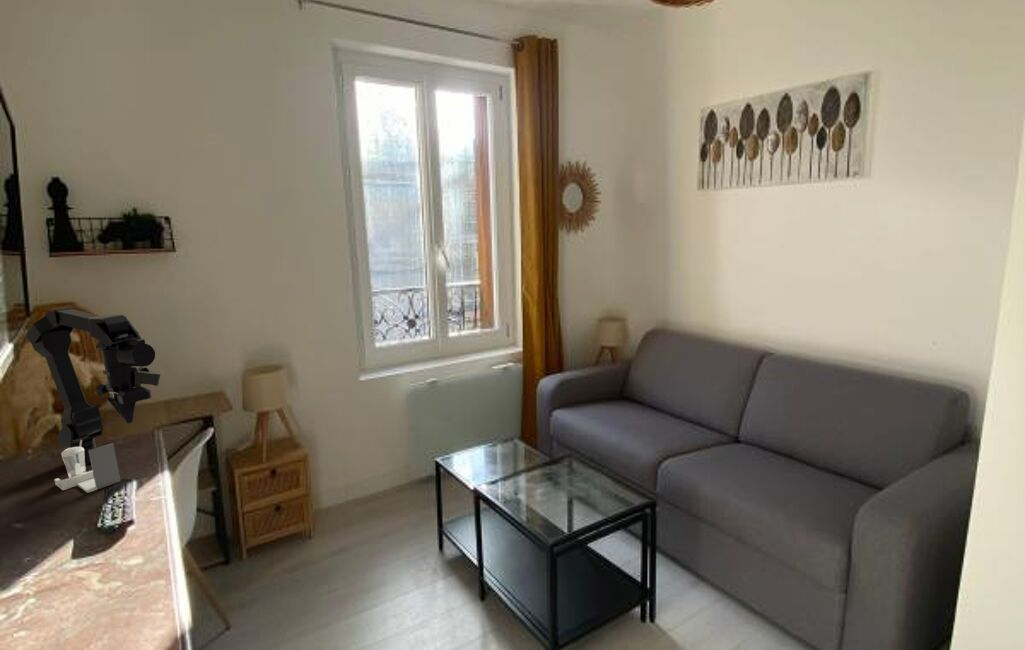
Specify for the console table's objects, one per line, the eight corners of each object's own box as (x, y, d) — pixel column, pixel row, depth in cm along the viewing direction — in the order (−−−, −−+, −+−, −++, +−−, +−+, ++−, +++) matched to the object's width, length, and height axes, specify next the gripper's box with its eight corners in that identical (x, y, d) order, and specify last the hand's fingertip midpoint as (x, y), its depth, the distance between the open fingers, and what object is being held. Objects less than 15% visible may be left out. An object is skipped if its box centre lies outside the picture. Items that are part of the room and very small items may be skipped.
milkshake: (97, 475, 144) (89, 439, 142) (80, 485, 138) (72, 447, 137) (80, 476, 144) (73, 440, 142) (63, 485, 139) (54, 448, 137)
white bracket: (55, 484, 139) (47, 447, 137) (102, 469, 147) (95, 433, 145) (72, 498, 131) (63, 458, 130) (120, 481, 139) (113, 443, 137)
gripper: (168, 361, 142) (178, 419, 145) (139, 354, 153) (149, 408, 156) (117, 372, 133) (129, 433, 136) (91, 363, 144) (103, 420, 147)
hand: (129, 422), depth 144 cm, fingers closed
